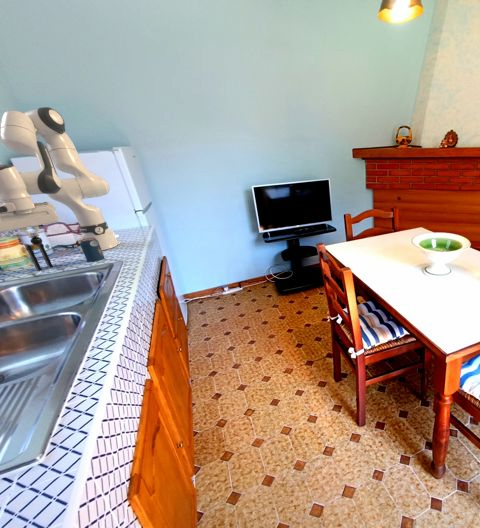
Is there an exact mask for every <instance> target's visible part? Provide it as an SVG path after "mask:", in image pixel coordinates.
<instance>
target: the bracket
mask: <svg viewBox="0 0 480 528" xmlns="http://www.w3.org/2000/svg"><path fill="white" fill-rule="evenodd" d="M23 245H24V249H25V251H27V253H28V256H29V257H30V259H31V261H32V264H33V265H34V267H35V269H36V270H37V271H38V272H40V271H43V269H42V267H41V265H40V262H39V260H38V258H37V257H36V254H35V252H34V251H33V250H32V248H31V246H30V245H31V244H29V243H24V244H23ZM38 246H39V252H40V254H41V255H42V257H43V259H44V262H45V264H46V266H47V267H48V268H50V269H51V268H54V265H53V264H52V262H51V259H50V257H49V254H48V253H47V250H46V248H45V245H44V243H43V242H42V243H41V244H39V245H38Z"/></svg>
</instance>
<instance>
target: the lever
mask: <svg viewBox="0 0 480 528" xmlns="http://www.w3.org/2000/svg"><path fill="white" fill-rule="evenodd" d="M41 243H42V244H43V239H42V238H41V237H39V236H38V237H32V238H30V244H29V245H30V246H31V248H32V250H33V252H34V251H40V249H39V246H38V245H39V244H41Z"/></svg>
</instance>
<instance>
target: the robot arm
mask: <svg viewBox="0 0 480 528" xmlns="http://www.w3.org/2000/svg"><path fill="white" fill-rule="evenodd" d="M38 138H42V139H43V140H44V141H45V144H44V143H43V142H42V141H39V140H38ZM0 140H1V142H2V143H3V144H4V146H5V147H6V148H8V149H9V150H11V151H13V152H15V153H17V154H21V155H25V156H30V157H35V158H36V159H37V162H38V165H39V168H40V169H39V170H36V171H35V170H34V171H23V172H22V171H21V172H20V171H18V169H17V167H16V166H15V165H13V164H0V202H1V203H0V233H4V232H10V231H16V230H21V231H22V232H23V233H25V234H26V235H27V236H28V238H29V239H31V238H33V237H39V236H40V234H39V230H40V226H43V225H49V224H54V223H59V222H60V217H59V215H58V214H57V212H56V207H55V205H54V204H53V203H52V202H48V201H44V202H36V203H35V202H34V199H32V196H33V195H47V196H48V197H49V198H50V199H52V200H53V201H55V202H58V203H61V204H62V205H64V206H66V207H67V208H69V209H70V210H71V211H72V212H73V214H74V215H75V218H76V220H77V222H78V224H79V226H78V227H79V230H80V233H81V234H80V238H79V239H77V240H76V241H75V243H72V244H71V246H68V245H65V244H57V245H54V248H57V247H63V248H65V249H72V248H74V247H75V246H77V247H78V250H80V252H82V253H83V250H82V248H81V245H80V243H81V240H83V239H86V238H95V239H96V240H98V242H99V245H100V247H101V250H102V251H105V250H110V249H112V248H116V247H117V246H118V245H120V244H122V242H121V241H120V240H118V239H117V238H118V237H119V235H118V234H115V233H114V231H113V230H112V229H109V224H108V223H107V221H106V220H105V218H104V215H103V212H102V210H101V208H100V207H99V206H96V205H93V204H88V203H85V202H83V200H85V199H92V198H99V197H103V196H106V195H108V194H109V192H110V185H109V183H108V181H107V180H106V179H105V178H103V177H102V176H99V175H96V174H95V173H93V172H92V171H91V170H89V169H88V168H87V167H86V165H84V163H83V161H82V159H81V156H80V155H79V153H78V150H77V148H76V146H75V144H74V143H73V141H72V139H71V138H70V136H69V135H68V134H67V133H66V123H65V120H64V117H63V116H62V115H61V114H60V113H59V112H58V111H57V110H55V109H53V108H52V107H49V106H43V107H38V108H35V109H31V110H27V111H25V112H21V111H19V110H7V111H5V112H4V113H3V114H2V116H1V119H0ZM56 169H57V170H58V171H60V172H62V173H65V174H70V175H72V176H73V177H70V178H60V177H59V176H58V173H57V170H56ZM28 228H33V229H34V232H29V231H28Z"/></svg>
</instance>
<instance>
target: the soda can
mask: <svg viewBox="0 0 480 528" xmlns="http://www.w3.org/2000/svg"><path fill="white" fill-rule="evenodd" d="M80 245H81V248H82V250H83V252H82V253H83V255H84V257H85V260H86V262H87V263H95V262H99V261H102V260H104V259H105V258H106V257H105V255H104V253H103V250H101V247H100V245H99V242H98V240H96V239H95V238H86V239H83V240H81V243H80Z"/></svg>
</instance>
